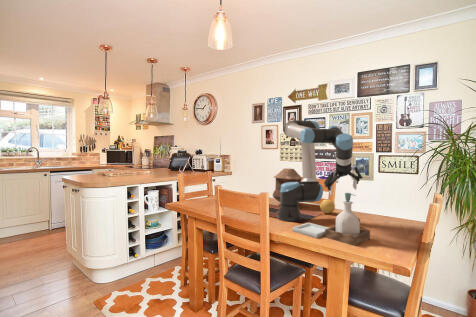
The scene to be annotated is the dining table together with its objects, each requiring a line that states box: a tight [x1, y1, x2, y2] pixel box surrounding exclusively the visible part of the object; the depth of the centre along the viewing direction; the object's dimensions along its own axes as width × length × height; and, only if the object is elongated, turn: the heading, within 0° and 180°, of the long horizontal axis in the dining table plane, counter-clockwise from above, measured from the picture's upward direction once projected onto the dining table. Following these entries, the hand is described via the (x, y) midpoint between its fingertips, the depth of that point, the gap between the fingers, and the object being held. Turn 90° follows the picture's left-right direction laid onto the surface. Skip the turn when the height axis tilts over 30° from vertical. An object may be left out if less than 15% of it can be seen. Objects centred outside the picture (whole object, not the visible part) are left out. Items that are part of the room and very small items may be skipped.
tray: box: [291, 222, 329, 239], centre depth 137 cm, size 15×15×2 cm
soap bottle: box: [335, 192, 361, 236], centre depth 127 cm, size 10×10×23 cm
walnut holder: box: [324, 225, 371, 247], centre depth 127 cm, size 15×15×4 cm
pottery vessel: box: [272, 168, 303, 204], centre depth 204 cm, size 26×26×30 cm
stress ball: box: [319, 198, 336, 215], centre depth 178 cm, size 10×10×10 cm
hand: (342, 190), depth 142 cm, fingers open, 13 cm apart
